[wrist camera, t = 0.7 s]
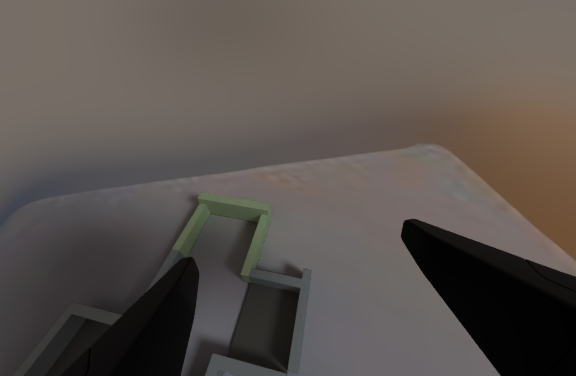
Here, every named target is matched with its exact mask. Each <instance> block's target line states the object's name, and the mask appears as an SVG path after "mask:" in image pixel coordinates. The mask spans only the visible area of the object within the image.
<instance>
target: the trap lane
mask: <svg viewBox="0 0 576 376" xmlns="http://www.w3.org/2000/svg"><path fill="white" fill-rule="evenodd" d="M197 199H198V201H199V203H200V204H199V206H198V207H197V209H196V210H195V212H194V214H193V215H192V217H191V219H190V220H189V222H188V224H187V225H186V227H185V228H184V230H183V232H182V233H181V235H180V237H179V238H178V240H177V242H176V243H175V245H174V246H173V248H172V250H171V251H170V253H169V255H168V256H167V258H166V260H165V261H164V263H163V264H162V266H161V268H160V269H159V271H158V273H157V274H156V276H155V278H154V279H153V281H152V282H151V284H150V286H149V287H148V289H147V291H148V290H149V289H150V288H151V287H152V286H153V285H154V284H155V283H156V282H157V281H158V280H159V279H160V278H161V277H162V276H163V275H164V274H165V273H166V272H168V271H169V270H170V269H171V268H172V267H173V266H174V265H175V264H176V263H177V262H178V261H179V260H180V259H181V258H185V257H187V256H188V254H189V252H190V250H191V249H192V247H193V245H194V243H195V241H196V239H197V238H198V236H199V234H200V232H201V230H202V228H203V227H204V225H205V223H206V221H207V219H208V217H209V216H210V214H214V215H219V216H225V217H230V218H236V219H241V220H246V221H252V222H257V223H258V226H257V228H256V231H255V234H254V237H253V240H252V243H251V246H250V248H249V251H248V254H247V257H246V260H245V263H244V266H243V268H242V271H241V274H240V275H241V277H242V279H243V281H245V282H249V283H250V287H249V290H248V293H247V296H246V300H245V303H244V306H243V309H242V312H241V316H240V319H239V322H238V325H237V329H236V332H235V335H234V338H233V342H232V345H231V348H230V351H229V354H228V357H225V356H222V355H218V354H214V353H213V354H212V357H211V360H210V363H209V366H208V368H207V371H206V374H205V376H223V372H228V373H231V374H235V375H238V376H287V370H288V371H292V372H295V373H298V372H299V364H300V356H301V349H302V341H303V333H304V326H305V318H306V310H307V303H308V295H309V287H310V279H311V272H312V270H309V269H303V275H302V279H300V278H296V277H291V276H286V275H282V274H277V273H272V272H268V271H263V270H258V269H256V265H257V262H258V259H259V256H260V252H261V249H262V246H263V243H264V239H265V236H266V233H267V230H268V226H269V223H270V220H271V212H270V204H268V203H263V202H257V201H251V200H245V199H239V198H233V197H227V196H222V195H216V194H210V193H204V192H201V193H200V195H199V196H198V198H197ZM147 291H146V292H147ZM146 292H145V293H146ZM121 316H122V315H120V314H116V313H113V312H109V311H105V310H101V309H98V308H94V307H90V306H86V305H83V304H79V303H75V302H71V303H70V305H69V306H68V307H67V308H66V310H65V311H64V312H63V313H62V314H61V316H60V317H59V318H58V319H57V321H56V322H55V323H54V324H53V326H52V327H51V328H50V329H49V331H48V332H47V333H46V334H45V336H44V337H43V338H42V339H41V341H40V342H39V343H38V344H37V346H36V347H35V348H34V349H33V350H32V352H31V353H30V354H29V355H28V357H27V358H26V359H25V360H24V362H23V363H22V364H21V365H20V367H19V368H18V369H17V370H16V372H15V373H14V374H13V375H12V376H59V375H60V374H61V373H62V372H63V371H65V370H66V369H67V368H68V367H69V366H70V365H71V364H72V363H73V362H74V361H75V360H76V359H77V358H78V357H79V356H80V355H81V354H82V353H83V352H84V351H85V350H87V349H88V348H89V347H91V345H92V344H93V343H94V342H95V341H96V340H97V339H98V338H99V337H100V336H101V335H102V334H103V333H104V332H105V331H106V330H107V329H108V328H109V327H110V326H112V325H113V324H114V323H115V322H116V321H117V320H118V319H119V318H120V317H121Z"/></svg>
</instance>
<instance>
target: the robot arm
mask: <svg viewBox="0 0 576 376" xmlns="http://www.w3.org/2000/svg"><path fill="white" fill-rule="evenodd" d="M401 238H402V241H403V242H404V244H405V246H406V247H407V249H408V250H409V252H410V254H411V255H412V257H413V258H414V260H415V262H416V263H417V265H418V266H419V268H420V269H421V271H422V272H423V274H424V275H425V277H426V278H427V279H428V281H429V282H430V283H431V284H432V286H433V287H434V288H435V290H436V291H437V292H438V294H439V295H440V296H441V298H442V299H443V300H444V302H445V303H446V304H447V306H448V307H449V308H450V310H451V311H452V312H453V313H454V315H455V316H456V317H457V319H458V320H459V321H460V323H461V324H462V325H463V327H464V328H465V329H466V331H467V332H468V333H469V335H470V336H471V337H472V339H473V340H474V341H475V343H476V344H477V345H478V346H479V348H480V349H481V350H482V352H483V353H484V354H485V356H486V357H487V358H488V360H489V361H490V362H491V364H492V365H493V366H494V368H495V369H496V370H497V372H498V373H499V374H500V375H501V376H576V277H575V276H572V275H569V274H566V273H563V272H560V271H557V270H555V269H552V268H549V267H546V266H543V265H540V264H538V263H535V262H532V261H530V260H527V259H525V260H524V259H523V258H521V257H518V256H516V255H513V254H510V253H507V252H505V251H502V250H499V249H496V248H494V247H491V246H488V245H485V244H483V243H480V242H477V241H474V240H472V239H469V238H466V237H463V236H461V235H458V234H455V233H452V232H450V231H447V230H444V229H441V228H439V227H436V226H433V225H430V224H428V223H425V222H422V221H420V220H417V219H409V220H405V221H404V223H403V228H402V233H401ZM198 283H199V270H198V268H197V265H196V263H195V260H194V258H193V257H185V258H181V259H180V260H179V261H178V262H177V263H176V264H175V265H174V266H173V267H172V268H171V269H170V270H169V271H168V272H166V273H165V274H164V275H163V276H162V277H161V278H160V279H159V280H158V281H157V282H156V283H155V284H154V285H153V286H152V287H151V288H150V289H149V290H148V291H147V292H146V293H145V294H144V295H143V296H142V297H141V298H140V299H138V300H137V301H136V302H135V303H134V304H133V305H132V306H131V307H130V308H129V309H128V310H127V311H126V312H125V313H124V314H123V315H122V316H121V317H120V318H119V319H118V320H117V321H116V322H115V323H114V324H113V325H112V326H110V327H109V328H108V329H107V330H106V331H105V332H104V333H103V334H102V335H101V336H100V337H99V338H98V339H97V340H96V341H95V342H94V343H93V344H92V345H91V347H89V348H88V349H87V350H85V351H84V352H83V353H82V354H81V355H80V356H79V357H78V358H77V359H76V360H75V361H74V362H73V363H72V364H71V365H70V366H69V367H68V368H67V369H66V370H65V371H63V372H62V373H61V374H60V375H59V376H181V372H182V367H183V363H184V359H185V354H186V350H187V346H188V342H189V337H190V333H191V329H192V324H193V320H194V315H195V308H196V299H197V291H198Z"/></svg>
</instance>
